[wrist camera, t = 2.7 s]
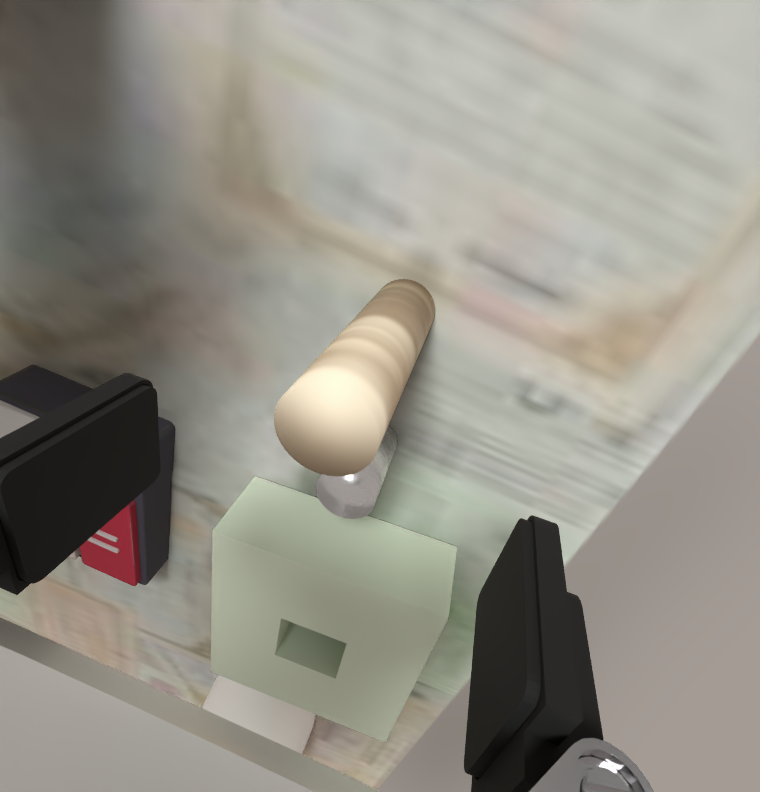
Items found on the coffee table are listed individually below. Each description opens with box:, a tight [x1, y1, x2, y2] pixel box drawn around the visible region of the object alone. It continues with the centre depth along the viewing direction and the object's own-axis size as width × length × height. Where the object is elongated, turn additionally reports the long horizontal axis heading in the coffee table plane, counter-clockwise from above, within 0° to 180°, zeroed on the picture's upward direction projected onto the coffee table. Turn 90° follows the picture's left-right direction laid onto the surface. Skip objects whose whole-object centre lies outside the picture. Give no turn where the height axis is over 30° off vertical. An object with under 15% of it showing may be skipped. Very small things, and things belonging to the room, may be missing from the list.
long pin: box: [274, 279, 435, 476], centre depth 16 cm, size 3×3×11 cm
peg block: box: [211, 476, 457, 742], centre depth 30 cm, size 16×14×5 cm
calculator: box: [0, 365, 175, 586], centre depth 32 cm, size 11×4×15 cm
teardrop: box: [202, 675, 315, 754], centre depth 39 cm, size 11×11×12 cm
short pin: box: [316, 425, 397, 519], centre depth 23 cm, size 3×3×5 cm
